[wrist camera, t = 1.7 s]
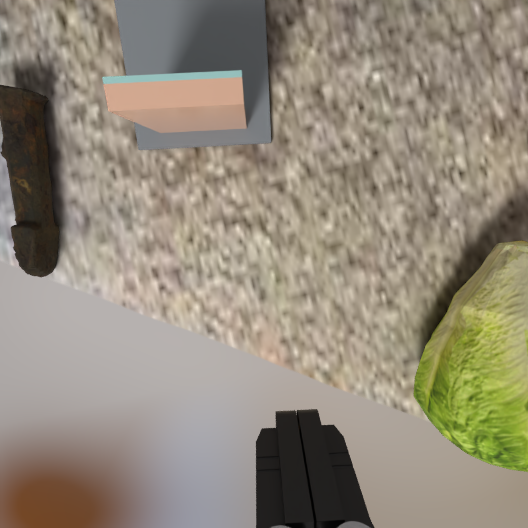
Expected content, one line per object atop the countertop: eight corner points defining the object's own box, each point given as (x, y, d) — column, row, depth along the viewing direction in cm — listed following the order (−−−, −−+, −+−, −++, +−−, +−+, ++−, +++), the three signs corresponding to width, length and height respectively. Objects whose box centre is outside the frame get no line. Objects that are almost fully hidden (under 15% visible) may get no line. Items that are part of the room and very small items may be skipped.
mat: (262, -42, 28) (263, -46, 28) (270, 142, 33) (271, 142, 32) (110, -35, 28) (107, -40, 28) (140, 150, 33) (138, 149, 32)
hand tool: (13, 91, 31) (-27, 77, 27) (54, 96, 31) (20, 84, 27) (31, 267, 36) (-1, 281, 32) (65, 271, 37) (39, 285, 32)
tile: (245, 107, 31) (241, 70, 20) (246, 128, 32) (243, 104, 20) (157, 111, 31) (102, 76, 20) (160, 133, 32) (108, 111, 20)
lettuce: (556, 240, 38) (705, 255, 24) (517, 415, 42) (626, 515, 28) (415, 231, 40) (478, 240, 26) (391, 400, 44) (435, 487, 30)
